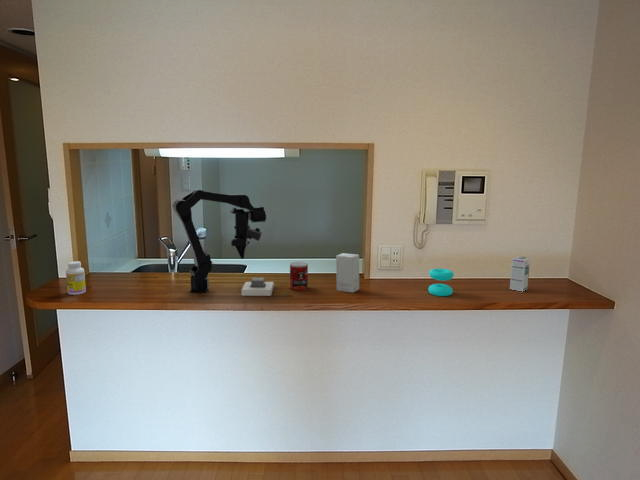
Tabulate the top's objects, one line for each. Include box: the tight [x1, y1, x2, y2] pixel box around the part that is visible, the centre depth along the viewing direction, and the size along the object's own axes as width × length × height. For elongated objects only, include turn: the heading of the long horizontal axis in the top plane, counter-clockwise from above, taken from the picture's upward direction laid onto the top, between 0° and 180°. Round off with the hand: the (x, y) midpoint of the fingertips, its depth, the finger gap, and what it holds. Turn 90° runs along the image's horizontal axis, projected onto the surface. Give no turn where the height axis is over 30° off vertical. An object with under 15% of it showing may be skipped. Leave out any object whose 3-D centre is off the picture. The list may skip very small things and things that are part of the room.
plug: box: [250, 277, 266, 288], centre depth 186 cm, size 5×4×5 cm
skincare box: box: [335, 252, 360, 293], centre depth 189 cm, size 8×7×16 cm
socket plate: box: [241, 281, 275, 297], centre depth 187 cm, size 12×12×2 cm
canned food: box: [289, 261, 309, 292], centre depth 191 cm, size 8×8×11 cm
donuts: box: [427, 268, 455, 297], centre depth 186 cm, size 10×10×10 cm
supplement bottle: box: [65, 260, 87, 296], centre depth 181 cm, size 7×7×13 cm
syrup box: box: [509, 255, 531, 293], centre depth 192 cm, size 6×6×14 cm
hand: (242, 258), depth 194 cm, fingers closed
